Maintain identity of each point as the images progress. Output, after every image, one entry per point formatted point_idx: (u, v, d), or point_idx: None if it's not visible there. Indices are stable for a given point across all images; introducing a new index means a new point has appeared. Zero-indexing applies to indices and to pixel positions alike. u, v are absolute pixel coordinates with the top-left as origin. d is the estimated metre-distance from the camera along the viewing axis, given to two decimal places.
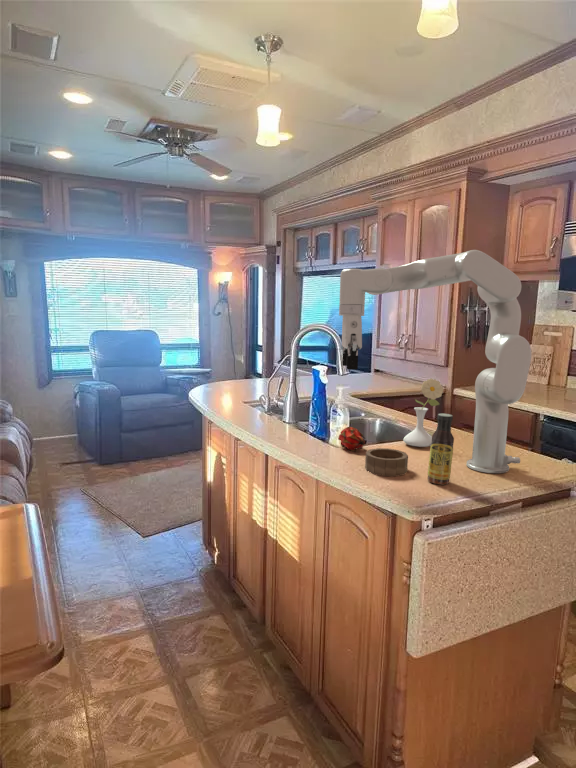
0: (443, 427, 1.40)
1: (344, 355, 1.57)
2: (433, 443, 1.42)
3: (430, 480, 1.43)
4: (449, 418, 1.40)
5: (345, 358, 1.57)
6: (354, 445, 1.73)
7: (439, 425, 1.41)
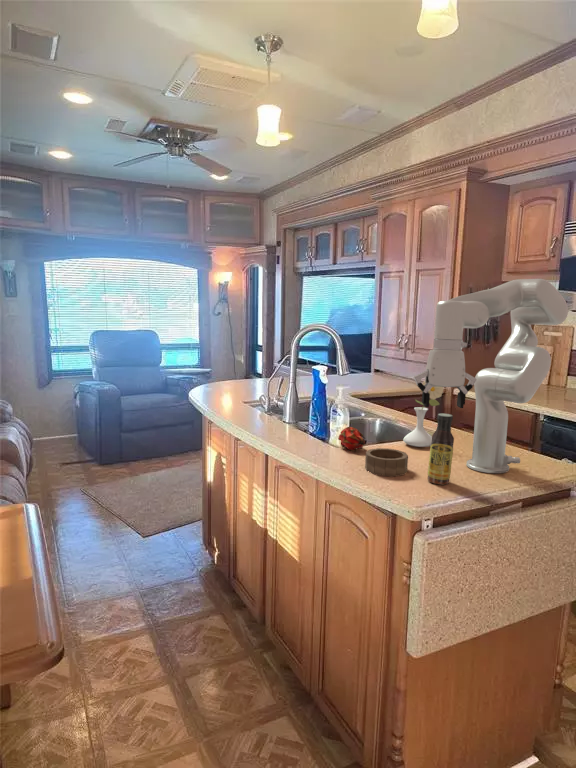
0: (443, 427, 1.40)
1: None
2: (433, 443, 1.42)
3: (430, 480, 1.43)
4: (449, 418, 1.40)
5: None
6: (354, 445, 1.73)
7: (439, 425, 1.41)
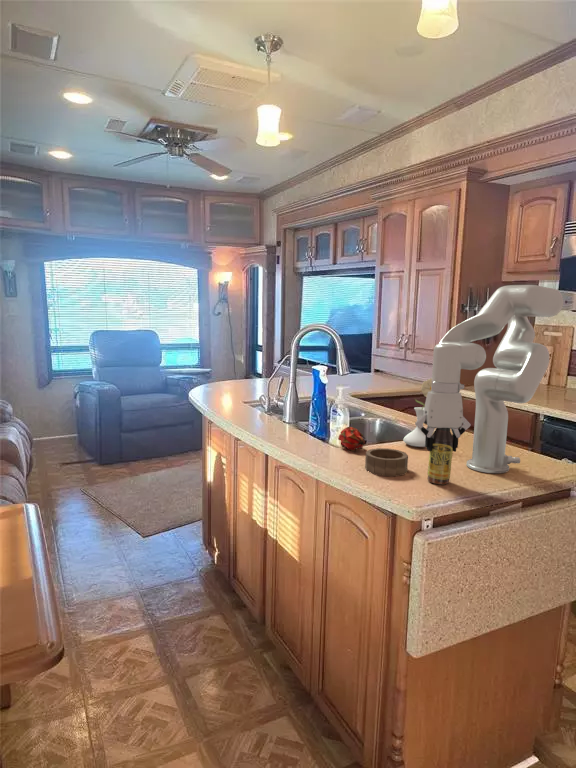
0: None
1: None
2: (433, 443, 1.42)
3: (430, 480, 1.43)
4: None
5: None
6: (354, 445, 1.73)
7: None
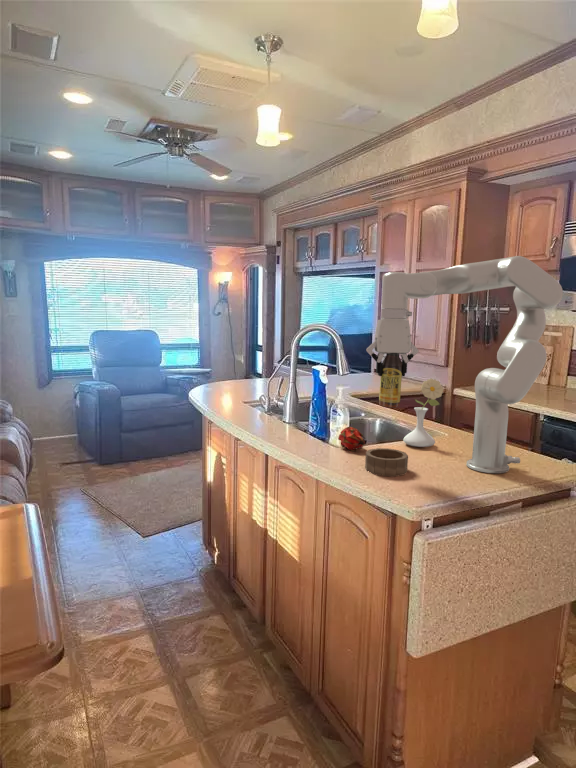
0: None
1: None
2: (383, 368, 1.49)
3: (381, 404, 1.51)
4: None
5: None
6: (354, 445, 1.73)
7: None
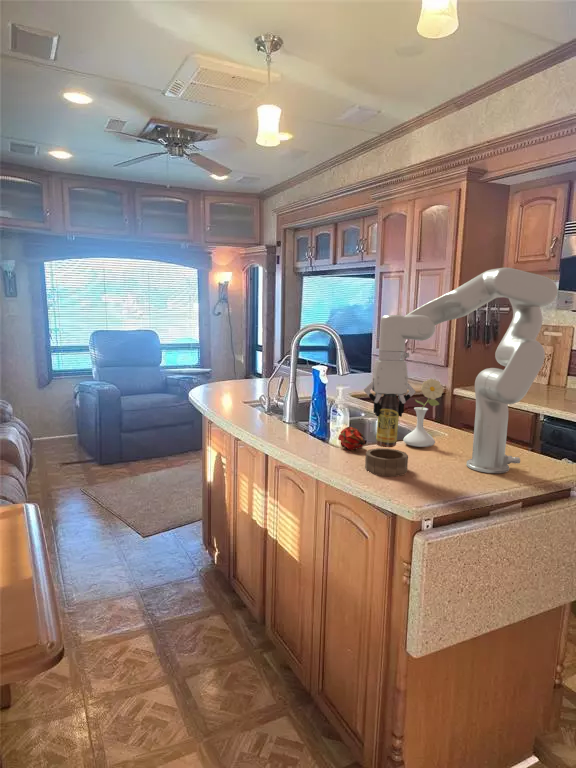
0: None
1: None
2: (380, 408, 1.51)
3: (378, 443, 1.52)
4: None
5: None
6: (354, 445, 1.73)
7: None
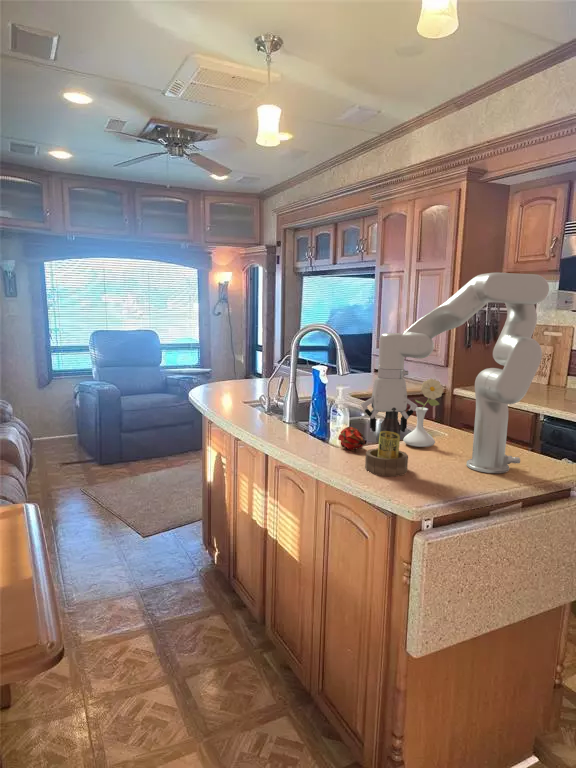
0: (390, 415, 1.50)
1: None
2: (381, 430, 1.52)
3: None
4: None
5: None
6: (354, 445, 1.73)
7: (386, 414, 1.51)
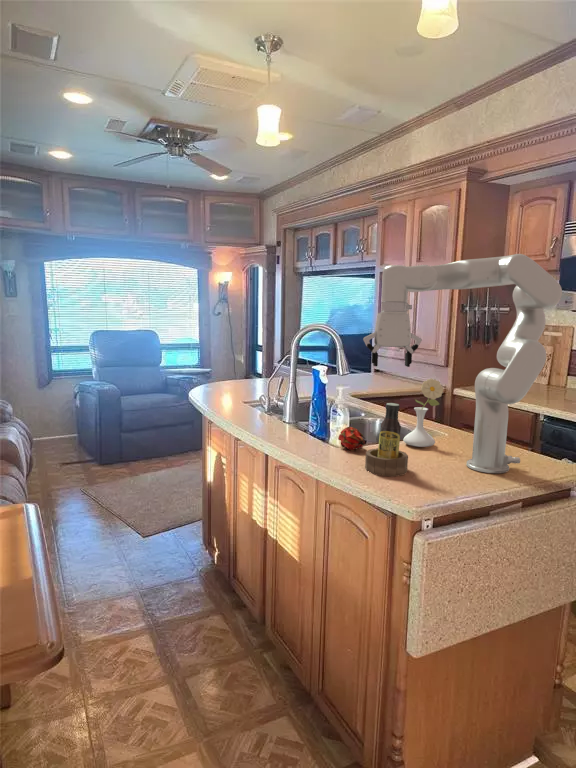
0: (390, 415, 1.50)
1: None
2: (381, 430, 1.52)
3: None
4: (396, 407, 1.50)
5: None
6: (354, 445, 1.73)
7: (387, 414, 1.51)
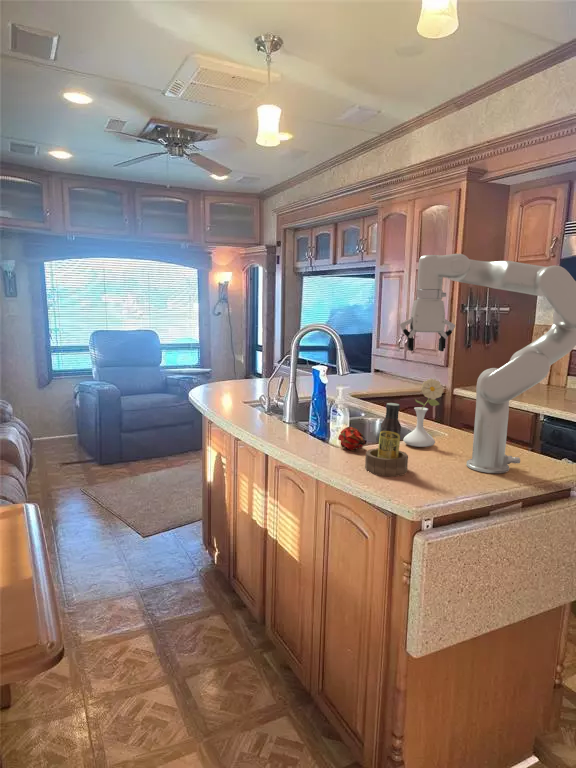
0: (391, 415, 1.51)
1: None
2: (381, 430, 1.52)
3: None
4: (396, 407, 1.50)
5: None
6: (354, 445, 1.73)
7: (387, 414, 1.51)
